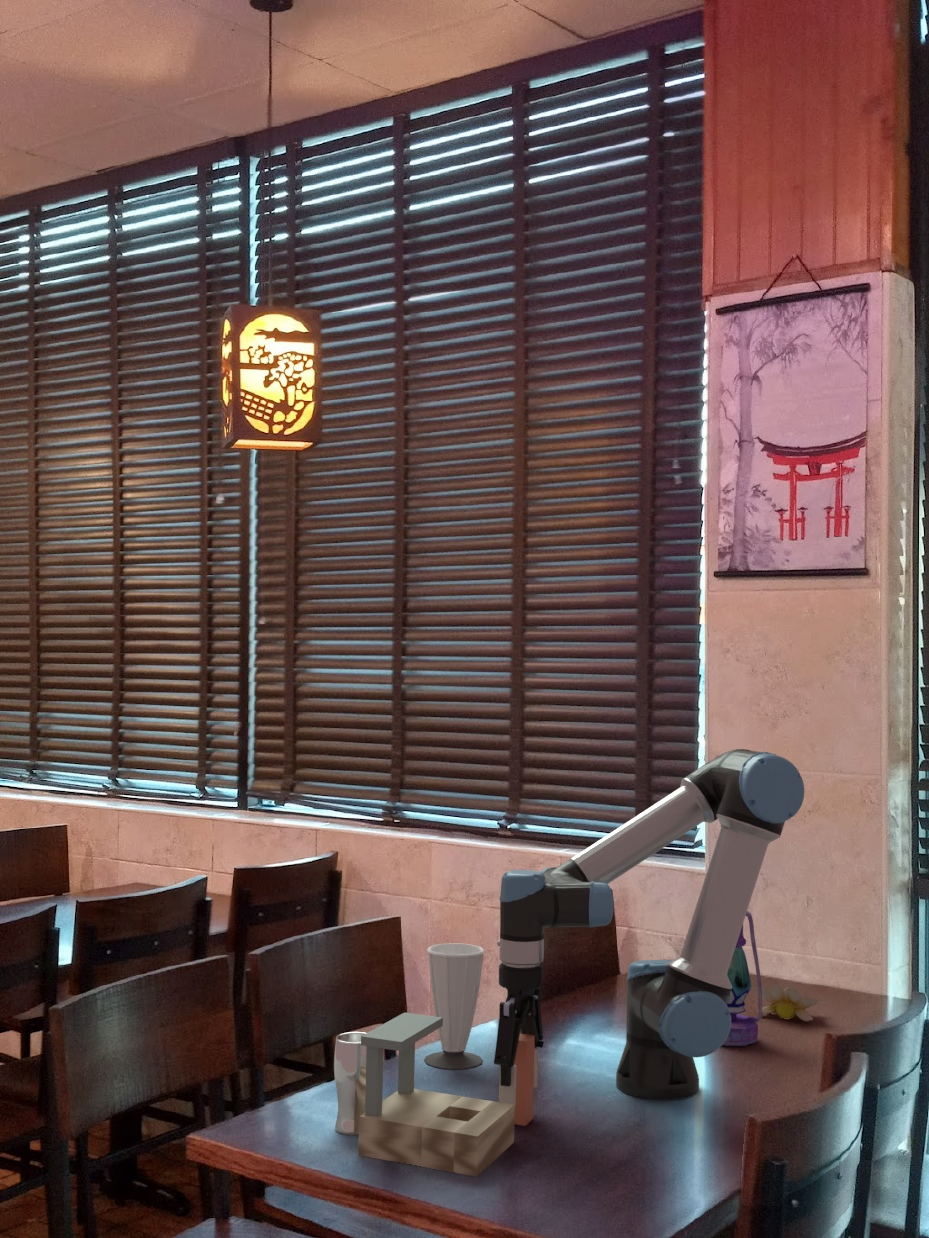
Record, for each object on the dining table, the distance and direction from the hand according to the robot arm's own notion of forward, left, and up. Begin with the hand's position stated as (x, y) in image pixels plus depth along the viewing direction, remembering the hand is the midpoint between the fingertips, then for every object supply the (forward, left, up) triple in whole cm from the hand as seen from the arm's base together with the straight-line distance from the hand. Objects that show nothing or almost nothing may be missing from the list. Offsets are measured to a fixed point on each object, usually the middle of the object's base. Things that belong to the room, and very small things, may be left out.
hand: (518, 1094), depth 223 cm
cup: (+23, -26, -4) cm, 35 cm away
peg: (0, 0, -4) cm, 4 cm away
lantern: (-23, -65, -4) cm, 69 cm away
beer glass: (+23, +16, -4) cm, 28 cm away
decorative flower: (-32, -89, -5) cm, 95 cm away
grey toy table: (+13, +18, +2) cm, 23 cm away
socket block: (+7, +18, -4) cm, 20 cm away
